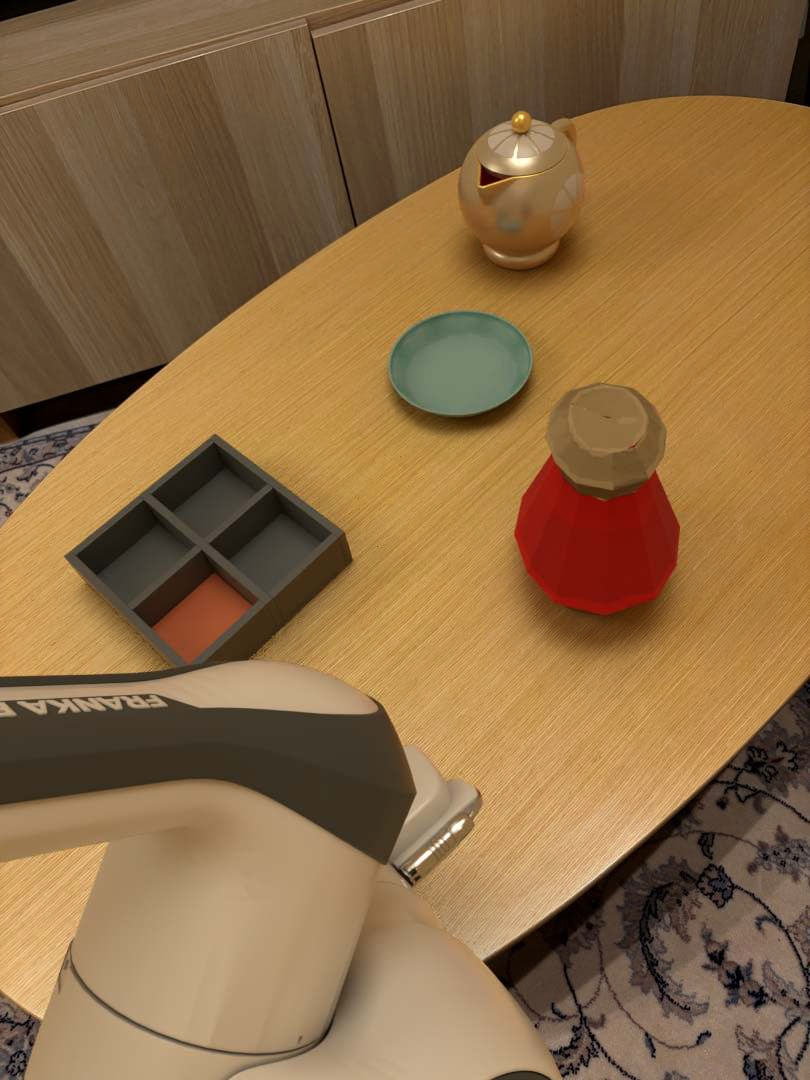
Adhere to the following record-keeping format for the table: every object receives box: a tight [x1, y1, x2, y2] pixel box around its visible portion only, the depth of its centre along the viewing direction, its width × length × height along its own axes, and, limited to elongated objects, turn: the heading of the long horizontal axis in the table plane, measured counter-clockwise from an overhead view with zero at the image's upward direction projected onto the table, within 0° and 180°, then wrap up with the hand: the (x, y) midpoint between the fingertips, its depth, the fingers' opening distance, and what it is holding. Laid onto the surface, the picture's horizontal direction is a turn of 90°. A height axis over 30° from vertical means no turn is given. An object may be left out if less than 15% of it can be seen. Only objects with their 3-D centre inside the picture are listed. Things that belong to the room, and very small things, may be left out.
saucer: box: [387, 309, 534, 418], centre depth 89 cm, size 15×15×3 cm
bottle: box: [513, 381, 681, 616], centre depth 68 cm, size 16×14×20 cm
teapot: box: [457, 110, 586, 271], centre depth 94 cm, size 18×14×16 cm
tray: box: [63, 433, 354, 669], centre depth 78 cm, size 18×18×5 cm
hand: (270, 842), depth 54 cm, fingers closed on navy bottle, 6 cm apart
